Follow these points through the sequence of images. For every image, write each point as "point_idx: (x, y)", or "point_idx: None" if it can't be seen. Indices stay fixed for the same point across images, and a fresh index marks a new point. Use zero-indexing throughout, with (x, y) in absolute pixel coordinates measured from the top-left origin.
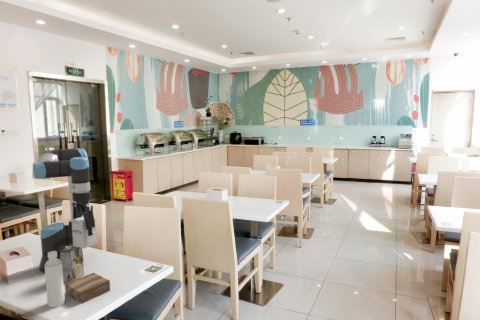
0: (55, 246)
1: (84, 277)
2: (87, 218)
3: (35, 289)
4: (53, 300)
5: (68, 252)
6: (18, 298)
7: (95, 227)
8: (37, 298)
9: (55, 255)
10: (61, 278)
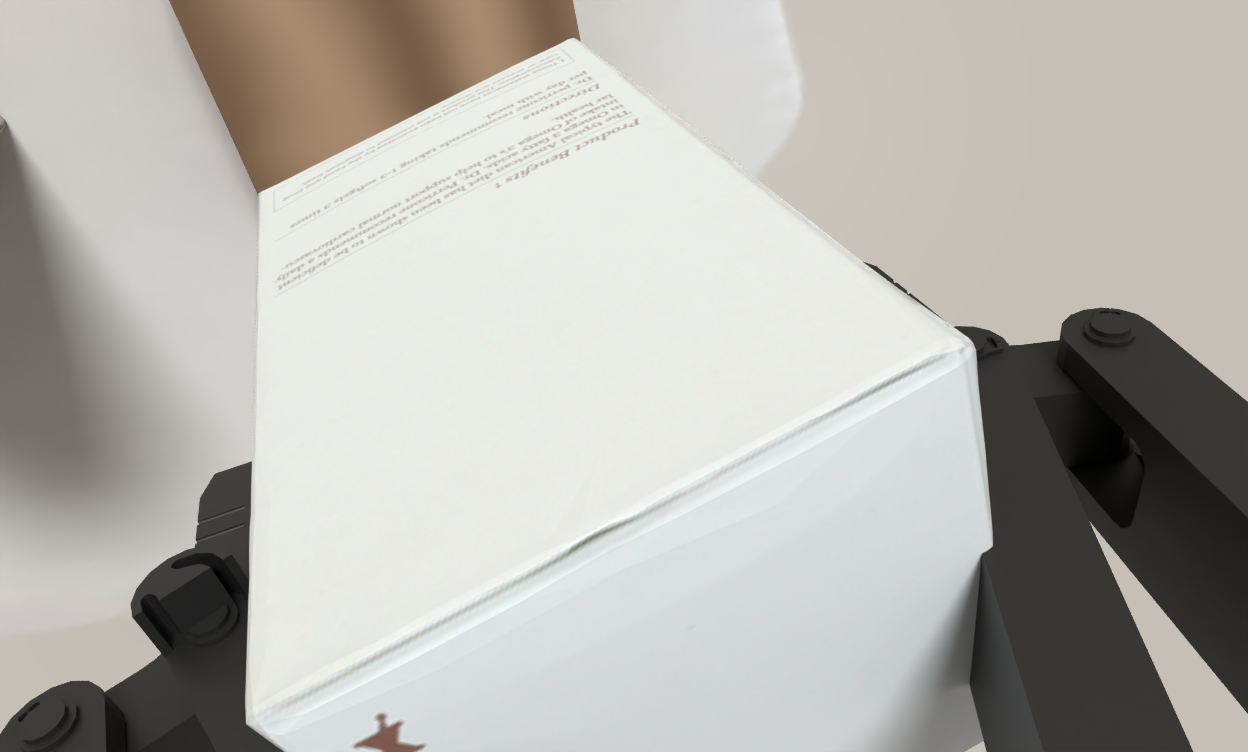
0: None
1: (239, 61)
2: (1243, 683)
3: (15, 448)
4: None
5: None
6: (155, 544)
7: (754, 181)
8: (245, 428)
9: None
10: None
